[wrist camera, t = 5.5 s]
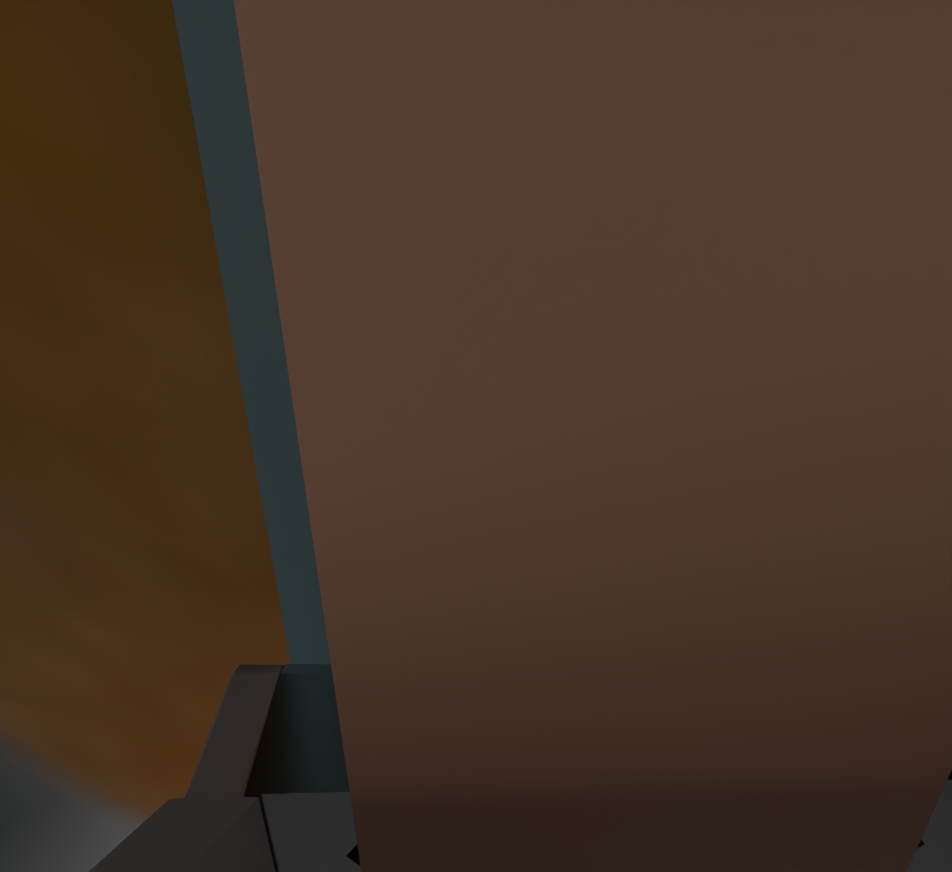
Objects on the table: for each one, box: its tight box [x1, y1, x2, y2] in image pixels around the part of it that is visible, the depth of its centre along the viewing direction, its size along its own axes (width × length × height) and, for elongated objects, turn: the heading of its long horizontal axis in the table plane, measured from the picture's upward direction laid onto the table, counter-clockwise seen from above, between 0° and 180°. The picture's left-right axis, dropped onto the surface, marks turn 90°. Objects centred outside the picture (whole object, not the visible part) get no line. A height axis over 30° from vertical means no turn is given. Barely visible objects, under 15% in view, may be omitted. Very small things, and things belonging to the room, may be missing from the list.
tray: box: [172, 0, 331, 664], centre depth 9 cm, size 12×9×2 cm
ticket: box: [234, 0, 952, 872], centre depth 6 cm, size 9×5×2 cm, turn 1°
